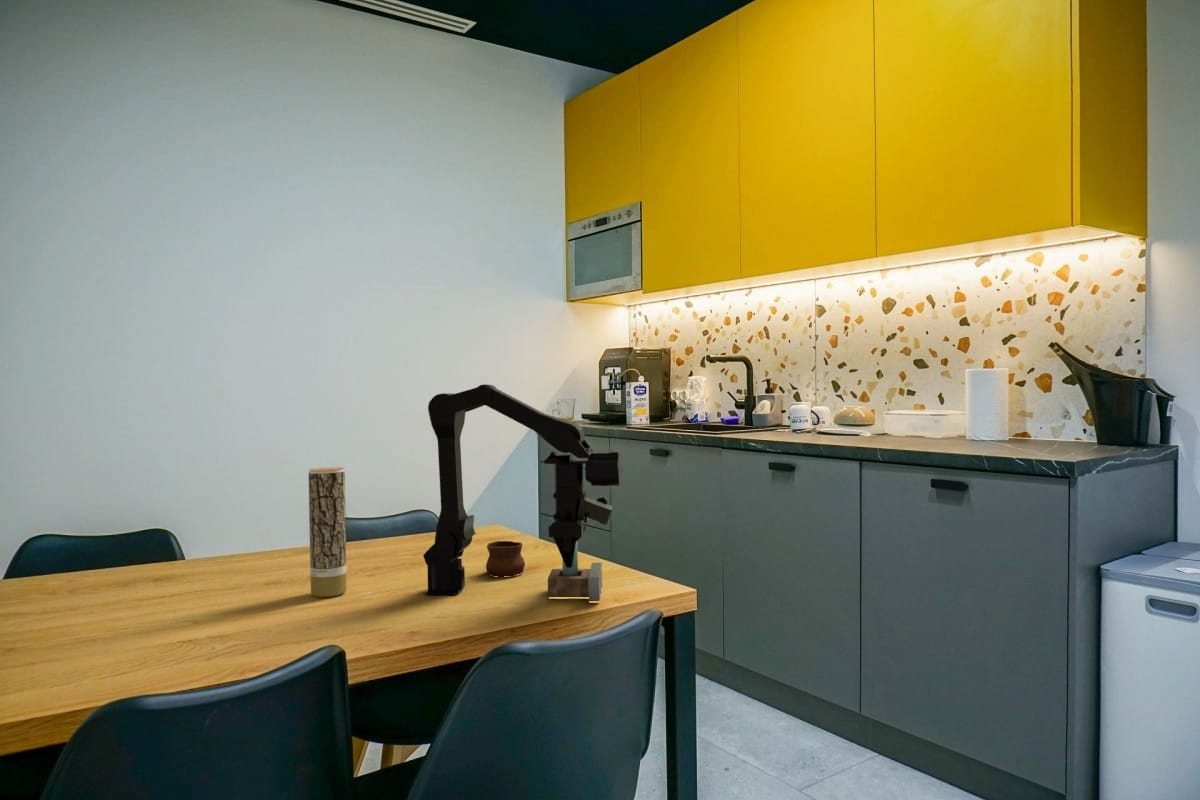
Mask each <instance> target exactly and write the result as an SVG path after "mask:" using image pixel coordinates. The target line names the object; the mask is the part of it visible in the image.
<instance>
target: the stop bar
mask: <svg viewBox="0 0 1200 800" xmlns="http://www.w3.org/2000/svg"><path fill="white" fill-rule="evenodd" d="M589 569H590V573H589V576H588V592H589V599H588V602H589V601H599V600H600V601H601V597H600V594H601V595H602V592H601V588H602V589H603V562H591V566H590V568H589Z"/></svg>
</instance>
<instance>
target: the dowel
mask: <svg viewBox="0 0 1200 800" xmlns="http://www.w3.org/2000/svg"><path fill="white" fill-rule="evenodd" d="M578 541H579V540H578ZM578 541H577V542H576V546H575V552H574V558H573V564H572V567H571V568H567V567H566V565H565V563H564V561H563V558H562V557H561V558H562V559H561V560H562V569H563V576H578V569H579V561H578V559H579V553H578V552H579V551H578V548H579V547H578V545H579V543H578Z"/></svg>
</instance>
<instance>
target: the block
mask: <svg viewBox="0 0 1200 800" xmlns="http://www.w3.org/2000/svg"><path fill="white" fill-rule="evenodd" d="M590 569H591V568H578V576H563V568H551V571H550V573H549V575H548V576H547V598H548V597H589V592H588V576H589V573H590Z"/></svg>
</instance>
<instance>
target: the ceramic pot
mask: <svg viewBox="0 0 1200 800" xmlns="http://www.w3.org/2000/svg"><path fill="white" fill-rule="evenodd" d="M522 548H523V543H522V542H520V541H512V540H511V541H510V540H496V541H492V542H488V543H487V545H486V549H487V552H488V553H489V555H488V557H487V560H486V564H485V569H486V573H487V575H489V576H490V575H492V576H498V577H504V576H514V575H517V574H520V573H522V572H523V573H524V569H525V566H526V563H525V559H524V557H523V556H522V553H521V552H522ZM523 573H522V574H523ZM492 576H491V577H492ZM498 577H497V578H498Z"/></svg>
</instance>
